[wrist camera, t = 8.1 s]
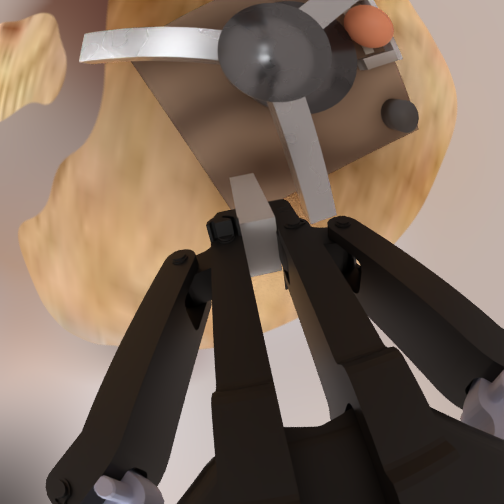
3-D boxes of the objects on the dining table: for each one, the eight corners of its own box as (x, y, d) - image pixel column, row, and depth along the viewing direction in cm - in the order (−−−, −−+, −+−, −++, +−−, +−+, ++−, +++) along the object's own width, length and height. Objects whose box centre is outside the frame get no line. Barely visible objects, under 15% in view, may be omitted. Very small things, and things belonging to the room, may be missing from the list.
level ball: (327, 15, 14) (348, 3, 11) (363, 7, 14) (388, -3, 10) (349, 55, 16) (374, 50, 13) (383, 45, 16) (411, 41, 12)
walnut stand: (130, 55, 16) (116, 48, 13) (333, -29, 13) (349, -42, 10) (238, 215, 25) (241, 233, 22) (408, 126, 22) (431, 133, 19)
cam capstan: (191, 224, 23) (183, 283, 16) (112, 55, 14) (62, 40, 8) (387, 154, 22) (445, 184, 15) (336, -11, 13) (387, -42, 6)
